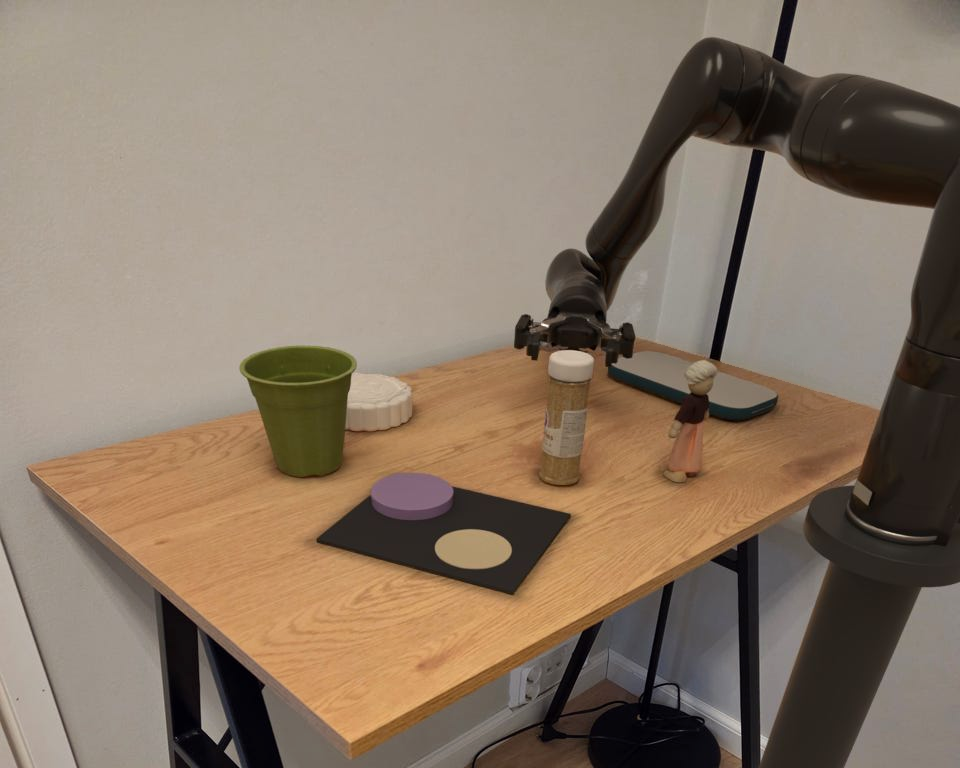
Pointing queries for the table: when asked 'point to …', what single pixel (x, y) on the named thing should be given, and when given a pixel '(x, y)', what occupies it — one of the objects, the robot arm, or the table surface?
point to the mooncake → (377, 402)
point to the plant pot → (302, 404)
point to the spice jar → (565, 416)
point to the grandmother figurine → (691, 423)
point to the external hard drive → (669, 381)
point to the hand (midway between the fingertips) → (572, 355)
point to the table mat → (456, 538)
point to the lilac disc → (412, 496)
